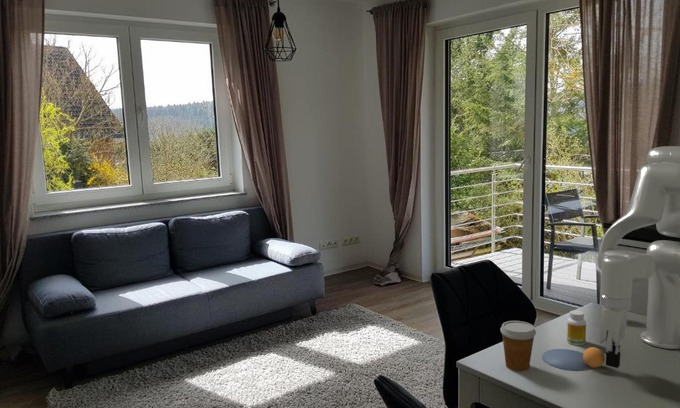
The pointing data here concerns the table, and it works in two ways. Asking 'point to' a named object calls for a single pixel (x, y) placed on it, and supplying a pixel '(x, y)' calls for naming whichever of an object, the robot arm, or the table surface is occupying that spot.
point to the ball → (593, 357)
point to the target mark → (565, 359)
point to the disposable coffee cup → (517, 344)
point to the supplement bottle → (576, 328)
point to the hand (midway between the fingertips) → (612, 365)
